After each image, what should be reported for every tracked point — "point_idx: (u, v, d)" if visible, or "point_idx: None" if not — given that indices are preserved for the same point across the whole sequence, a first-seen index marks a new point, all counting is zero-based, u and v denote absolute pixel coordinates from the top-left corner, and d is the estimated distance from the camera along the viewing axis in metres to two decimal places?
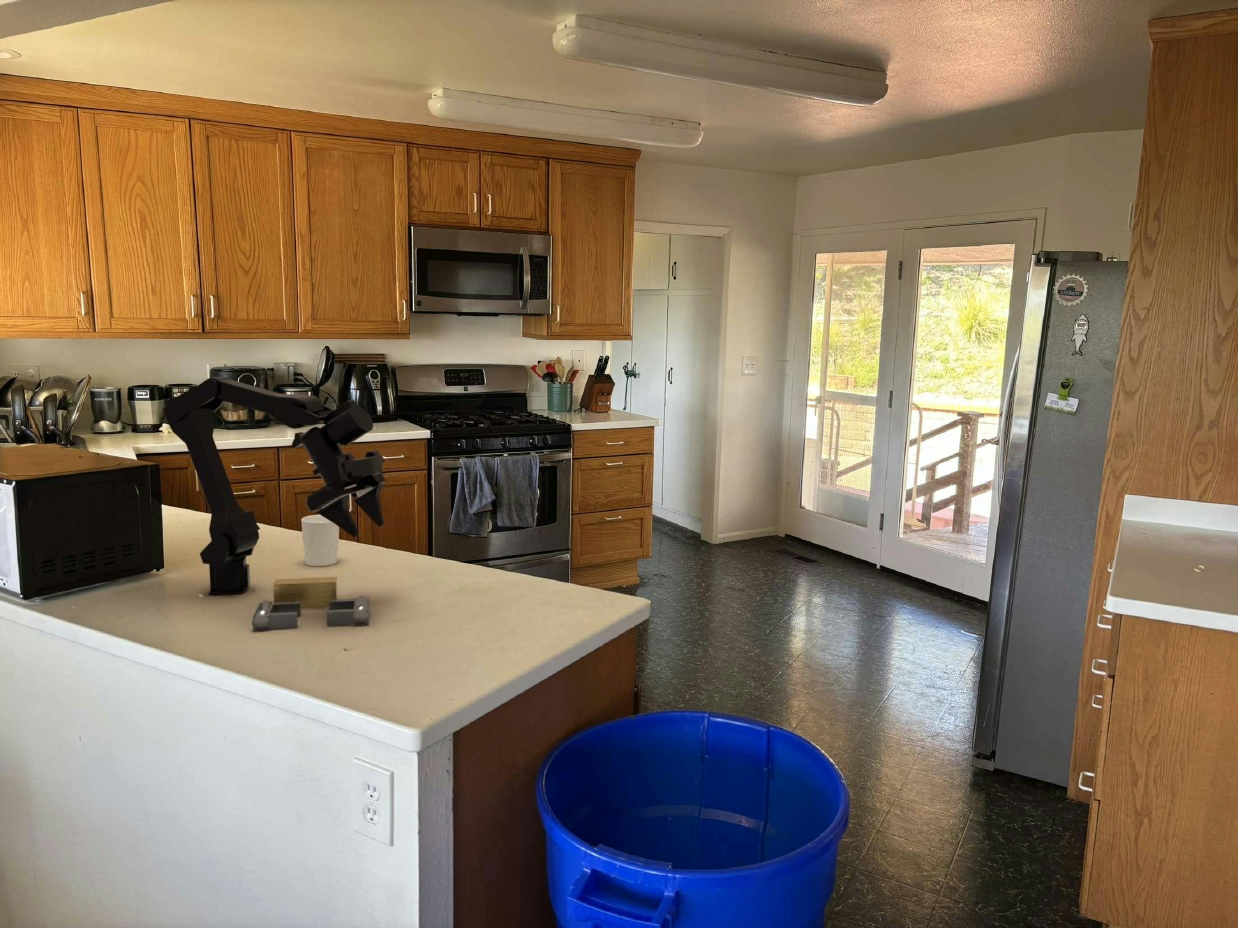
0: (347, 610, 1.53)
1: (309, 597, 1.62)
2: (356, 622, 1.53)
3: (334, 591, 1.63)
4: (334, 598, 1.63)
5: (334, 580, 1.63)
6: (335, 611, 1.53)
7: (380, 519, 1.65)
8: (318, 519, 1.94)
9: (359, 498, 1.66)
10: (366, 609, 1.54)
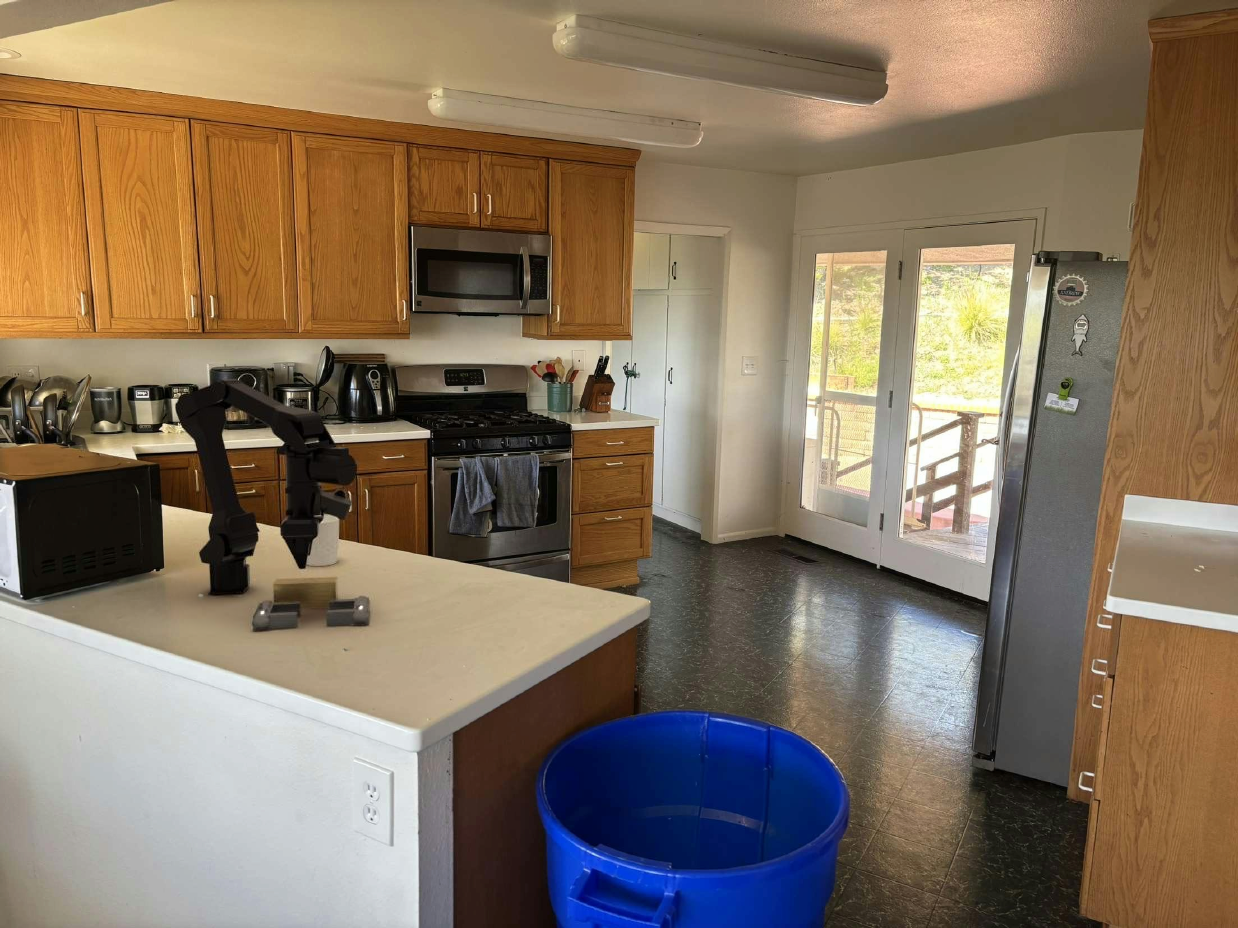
0: (347, 610, 1.53)
1: (309, 597, 1.62)
2: (356, 622, 1.53)
3: (334, 591, 1.62)
4: (334, 598, 1.63)
5: (334, 580, 1.63)
6: (335, 611, 1.53)
7: (309, 550, 1.66)
8: None
9: None
10: (366, 609, 1.54)
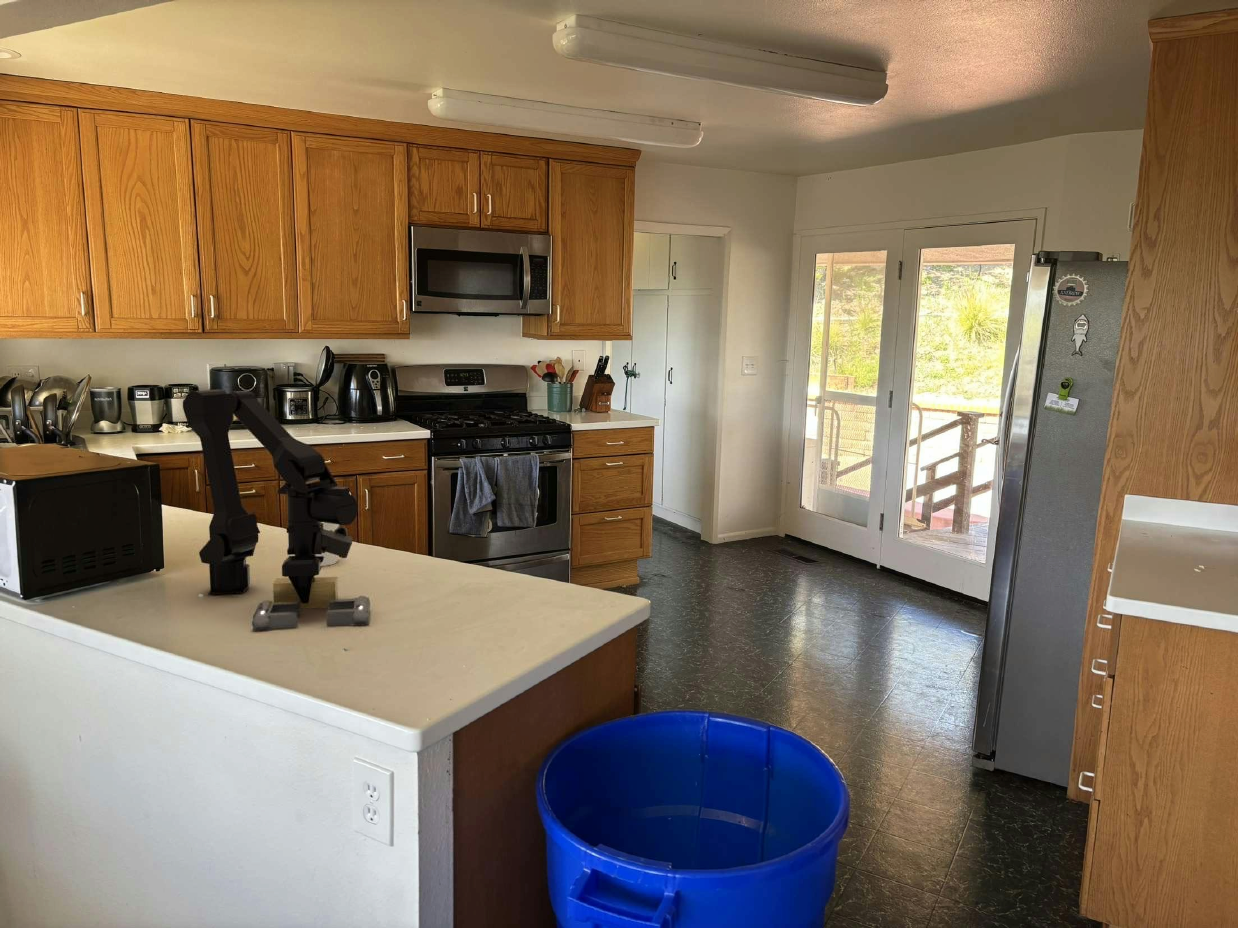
0: (347, 610, 1.53)
1: (309, 597, 1.62)
2: (356, 622, 1.53)
3: (333, 591, 1.62)
4: (333, 598, 1.62)
5: (334, 580, 1.63)
6: (335, 611, 1.53)
7: None
8: None
9: None
10: (366, 609, 1.54)
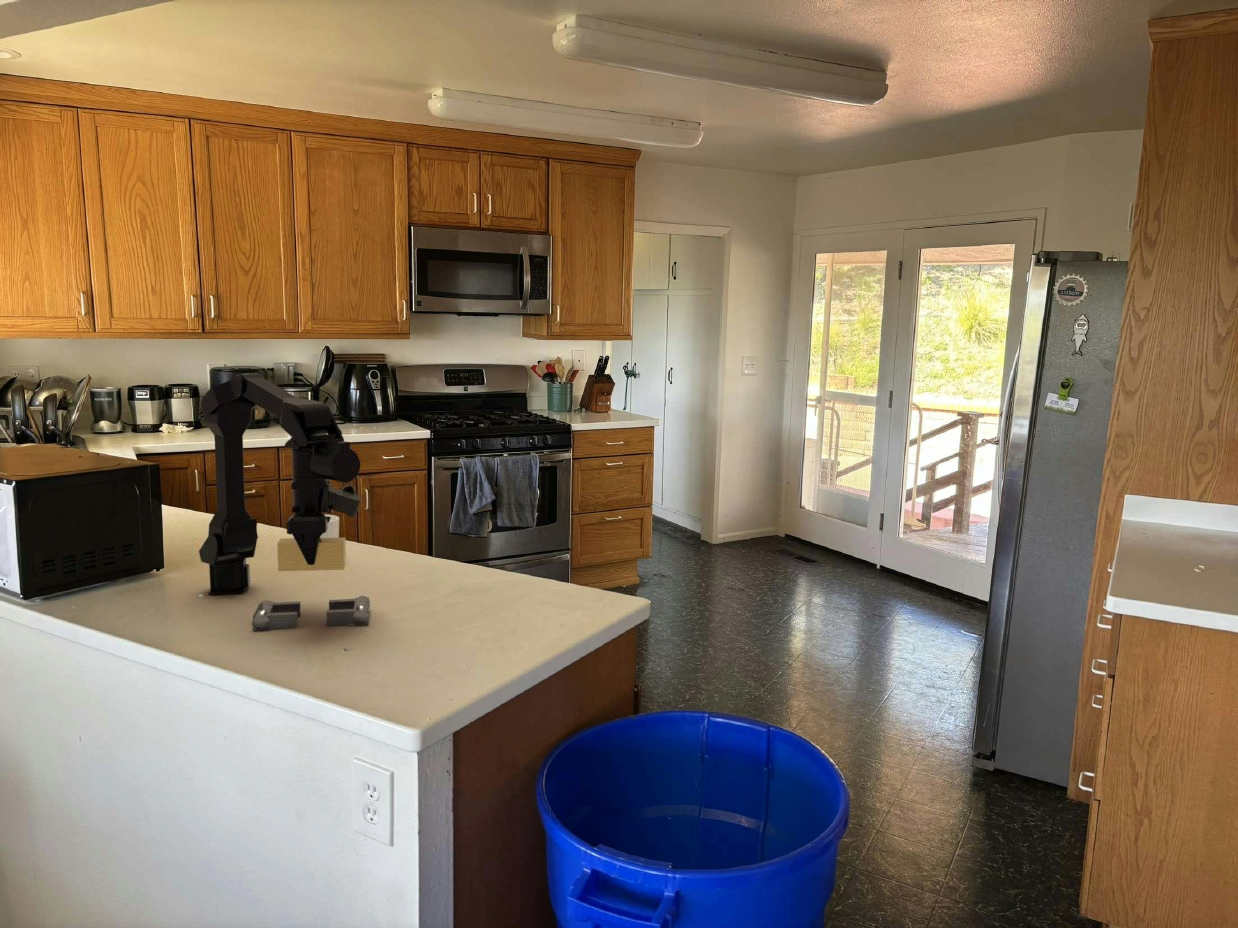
0: (347, 610, 1.53)
1: None
2: (356, 622, 1.53)
3: (341, 552, 1.53)
4: (341, 559, 1.53)
5: (342, 540, 1.53)
6: (335, 611, 1.53)
7: None
8: None
9: None
10: (366, 609, 1.54)
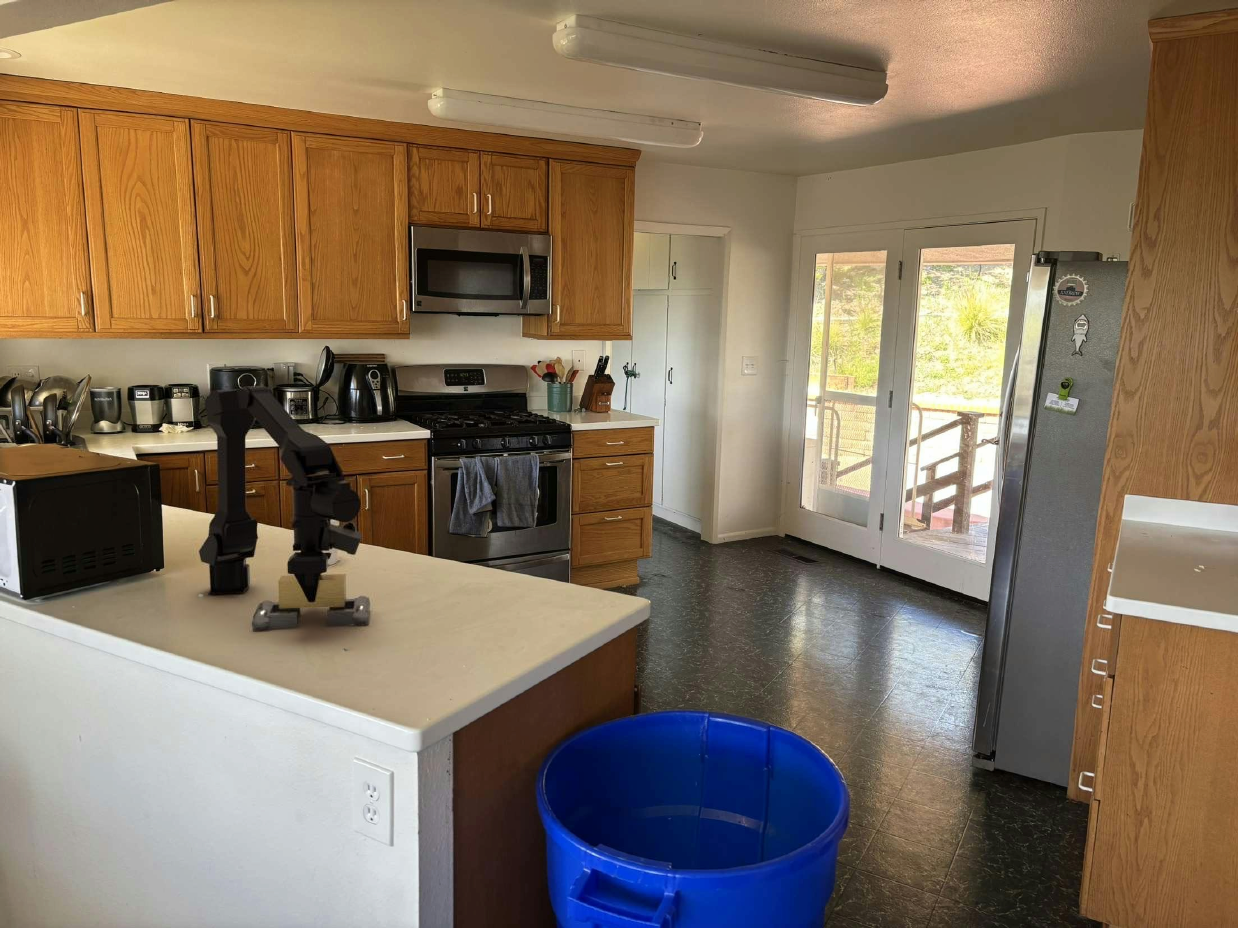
0: (347, 610, 1.53)
1: (316, 595, 1.53)
2: (356, 622, 1.53)
3: (342, 589, 1.54)
4: (342, 597, 1.54)
5: (342, 578, 1.54)
6: (335, 611, 1.53)
7: None
8: None
9: None
10: (366, 609, 1.54)
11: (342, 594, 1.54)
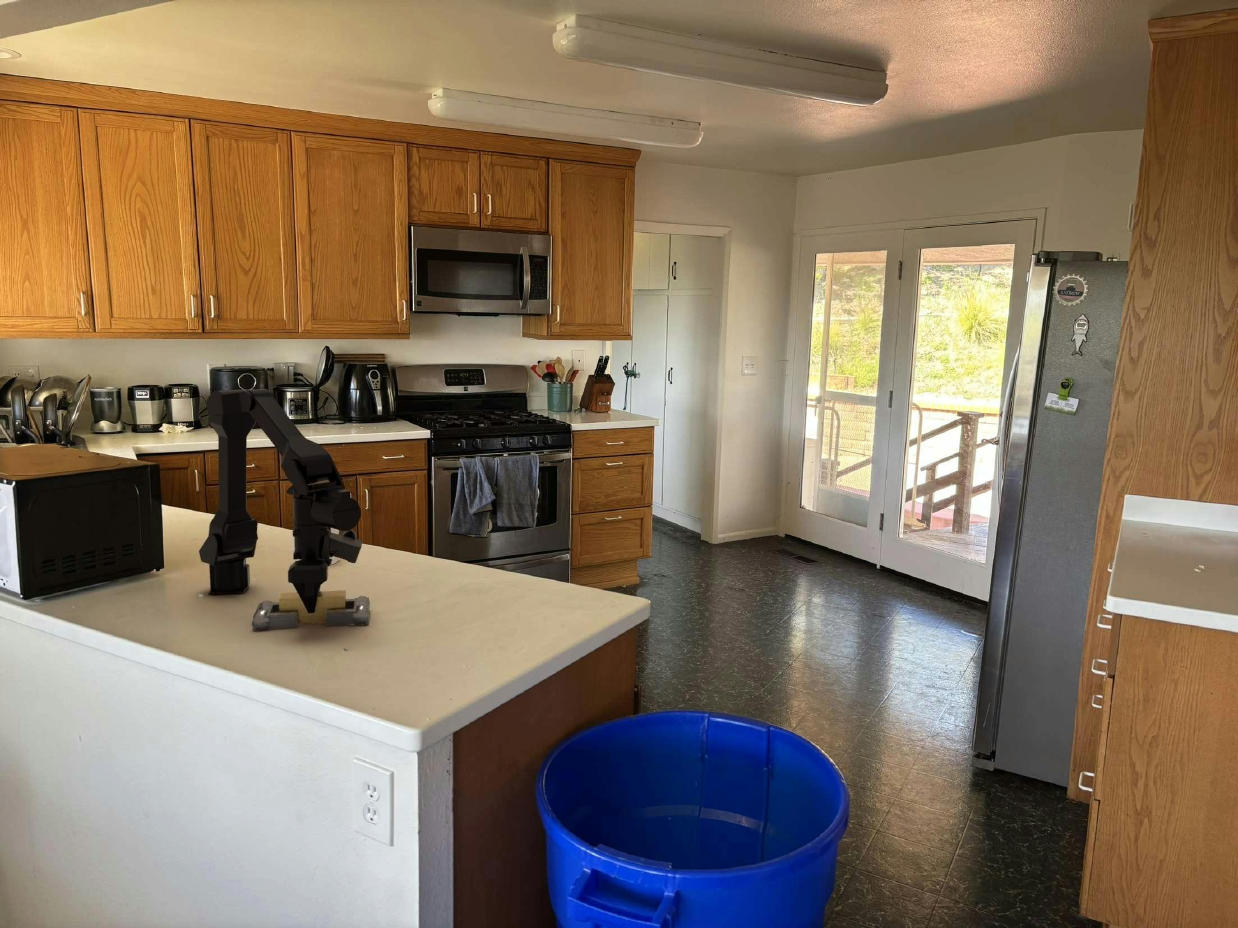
0: (347, 610, 1.53)
1: (317, 612, 1.54)
2: (356, 622, 1.53)
3: (343, 605, 1.55)
4: None
5: (343, 594, 1.55)
6: (335, 611, 1.53)
7: None
8: None
9: None
10: (366, 609, 1.54)
11: None
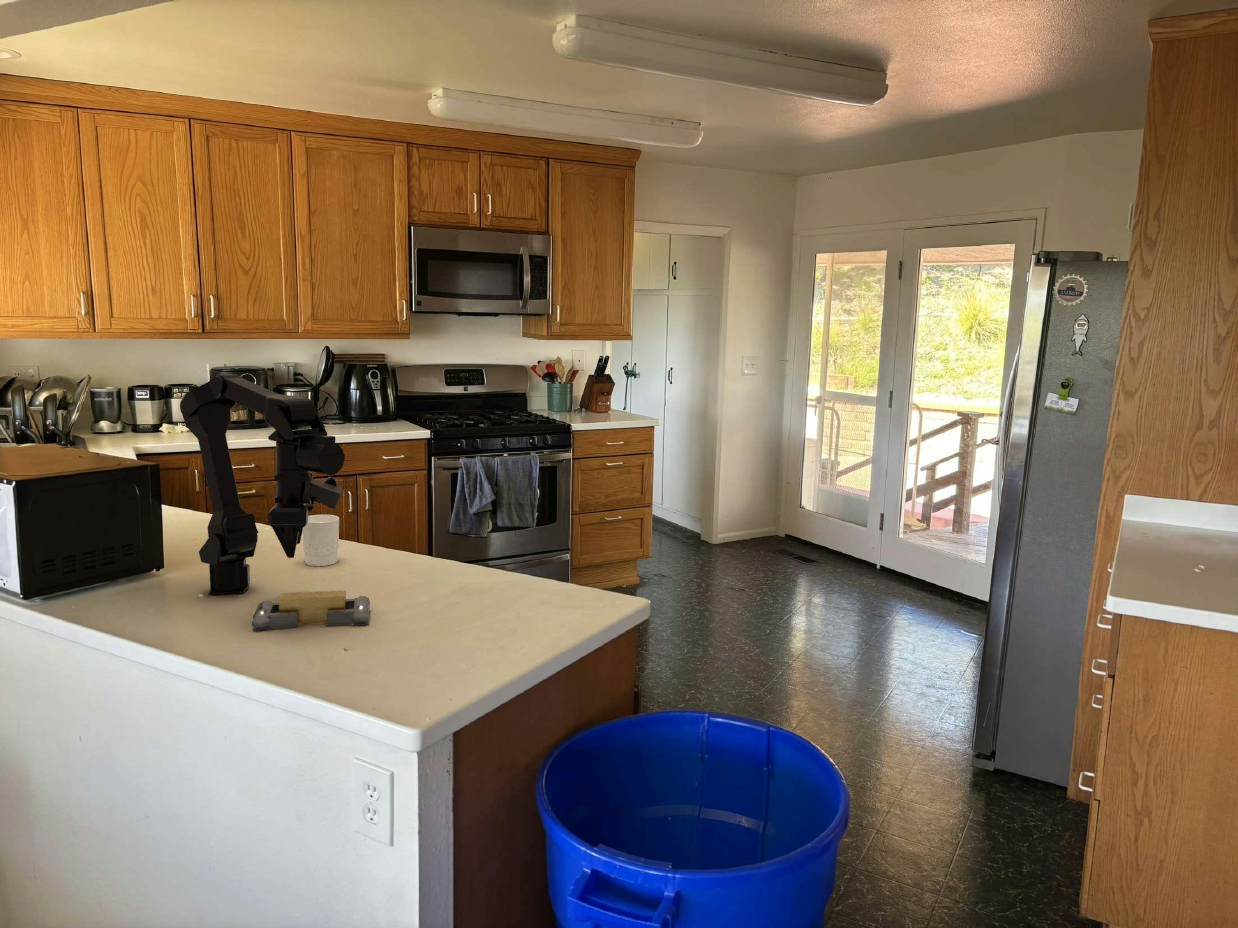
0: (347, 610, 1.53)
1: (317, 612, 1.54)
2: (356, 622, 1.53)
3: (343, 606, 1.54)
4: None
5: (343, 594, 1.55)
6: (335, 611, 1.53)
7: (299, 538, 1.64)
8: (318, 519, 1.94)
9: None
10: (366, 609, 1.54)
11: None
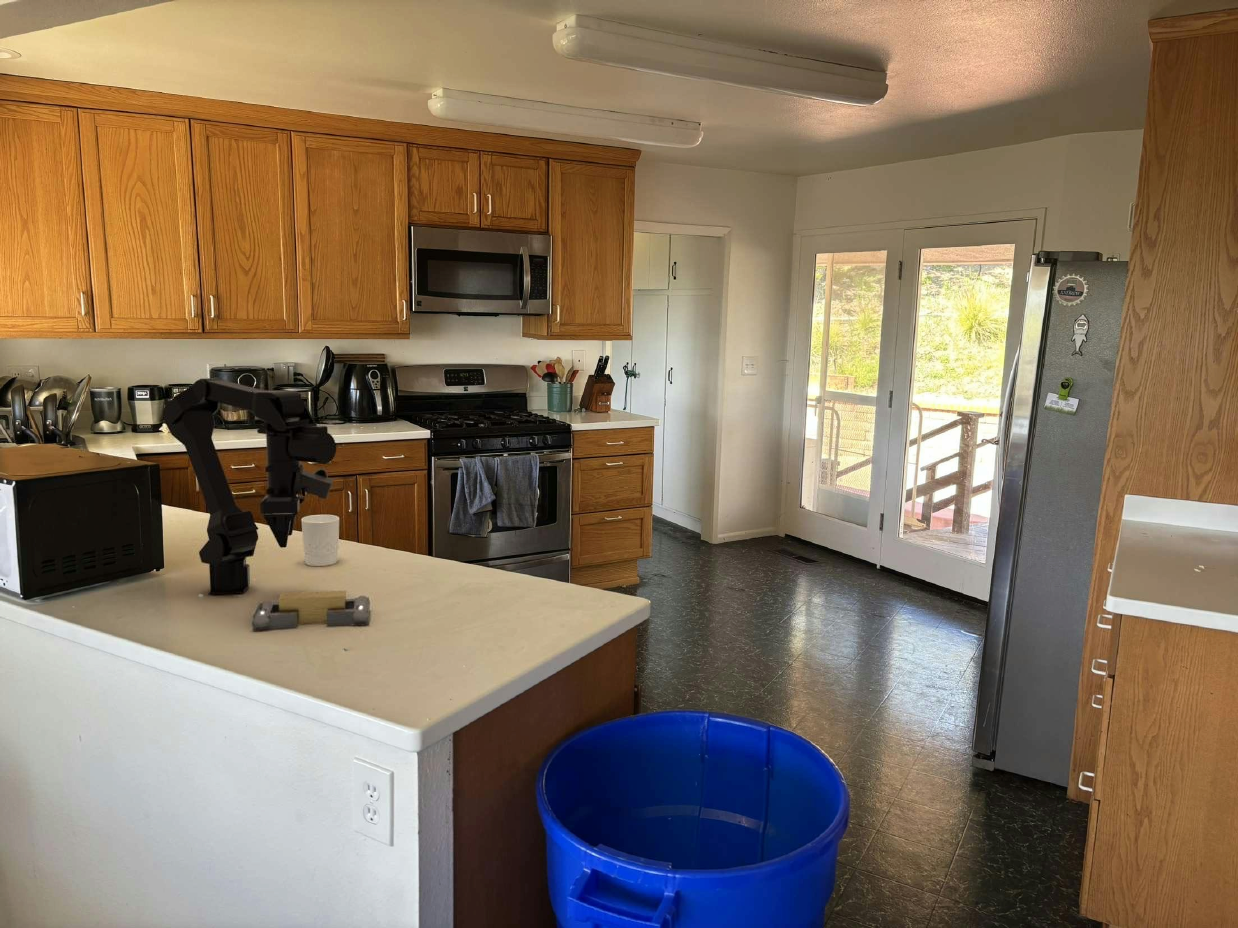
0: (347, 610, 1.53)
1: (317, 612, 1.54)
2: (356, 622, 1.53)
3: (343, 606, 1.54)
4: None
5: (343, 594, 1.55)
6: (335, 611, 1.53)
7: (291, 529, 1.67)
8: (318, 519, 1.94)
9: None
10: (366, 609, 1.54)
11: None
